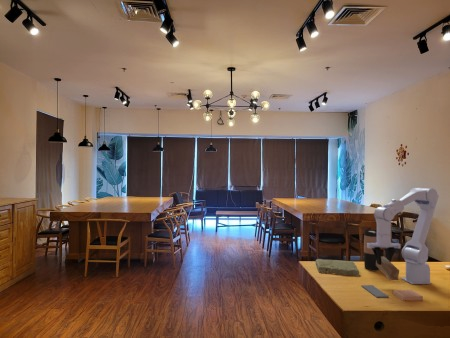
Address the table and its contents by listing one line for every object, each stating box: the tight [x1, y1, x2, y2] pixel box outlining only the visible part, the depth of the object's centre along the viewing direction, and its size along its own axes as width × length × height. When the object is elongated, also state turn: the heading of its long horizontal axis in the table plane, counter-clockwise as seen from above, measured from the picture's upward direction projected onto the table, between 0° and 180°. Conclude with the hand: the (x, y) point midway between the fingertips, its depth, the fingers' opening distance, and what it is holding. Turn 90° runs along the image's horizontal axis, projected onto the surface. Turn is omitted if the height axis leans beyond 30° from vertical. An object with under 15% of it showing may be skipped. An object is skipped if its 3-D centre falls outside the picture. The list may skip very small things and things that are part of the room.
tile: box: [392, 289, 424, 302], centre depth 132 cm, size 8×2×7 cm
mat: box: [361, 284, 389, 299], centre depth 138 cm, size 5×13×1 cm, turn 3°
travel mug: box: [363, 229, 380, 272], centre depth 171 cm, size 8×8×20 cm
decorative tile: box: [315, 258, 360, 277], centre depth 169 cm, size 19×20×4 cm
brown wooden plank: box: [376, 256, 400, 281], centre depth 143 cm, size 4×12×4 cm, turn 3°
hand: (383, 264), depth 145 cm, fingers closed on brown wooden plank, 3 cm apart
